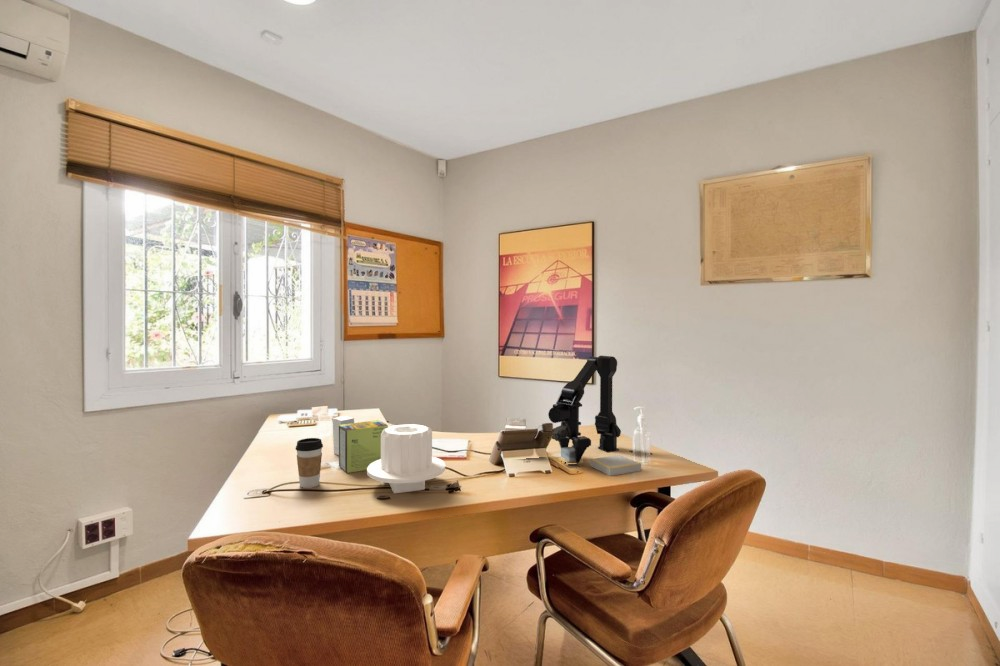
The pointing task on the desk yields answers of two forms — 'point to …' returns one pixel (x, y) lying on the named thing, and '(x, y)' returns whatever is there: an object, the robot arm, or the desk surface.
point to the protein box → (360, 444)
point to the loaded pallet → (569, 455)
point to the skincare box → (336, 423)
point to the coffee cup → (309, 461)
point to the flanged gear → (406, 458)
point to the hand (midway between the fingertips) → (570, 459)
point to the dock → (615, 465)
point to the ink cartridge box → (515, 424)
